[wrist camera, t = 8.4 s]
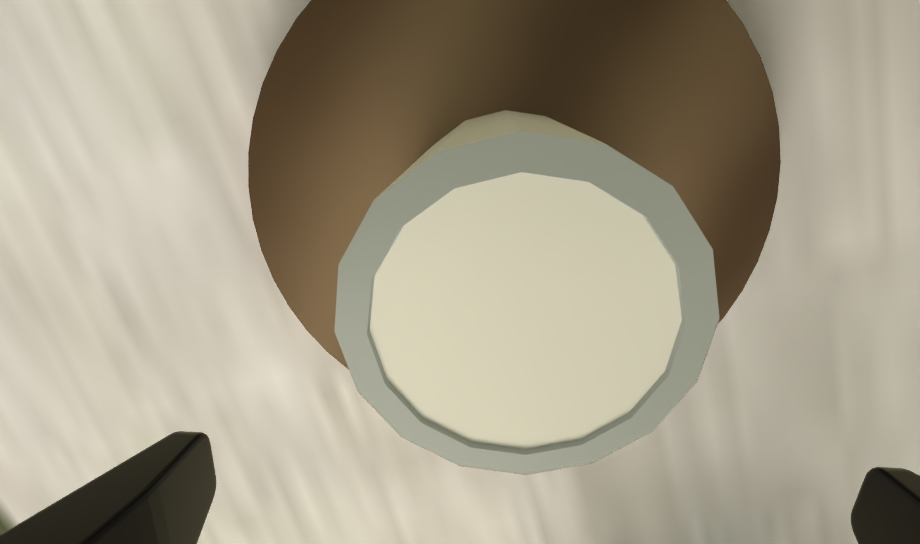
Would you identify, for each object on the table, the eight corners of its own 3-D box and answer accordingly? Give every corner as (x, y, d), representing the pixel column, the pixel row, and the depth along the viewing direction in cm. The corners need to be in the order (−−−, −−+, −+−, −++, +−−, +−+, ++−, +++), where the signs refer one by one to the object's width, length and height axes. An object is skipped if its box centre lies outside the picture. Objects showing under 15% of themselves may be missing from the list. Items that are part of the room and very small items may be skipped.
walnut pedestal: (837, 79, 18) (903, 90, 15) (579, 428, 23) (592, 483, 21) (393, -189, 16) (374, -233, 13) (223, 268, 21) (184, 305, 18)
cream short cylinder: (502, 27, 15) (519, 32, 8) (679, 203, 16) (806, 318, 10) (341, 218, 17) (255, 337, 11) (511, 356, 19) (527, 532, 12)
